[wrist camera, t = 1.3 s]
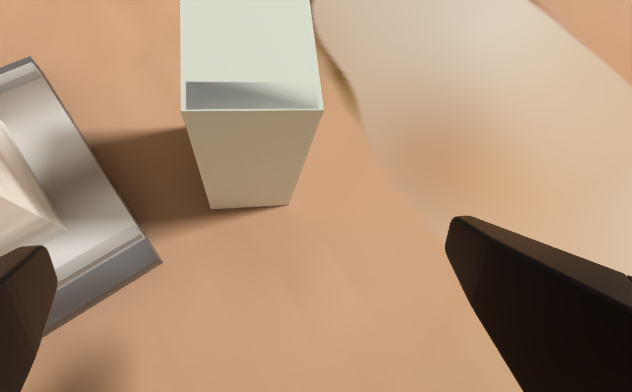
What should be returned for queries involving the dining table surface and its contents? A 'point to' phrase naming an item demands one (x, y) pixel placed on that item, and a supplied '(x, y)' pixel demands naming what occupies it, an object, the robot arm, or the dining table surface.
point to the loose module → (249, 96)
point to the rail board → (62, 198)
